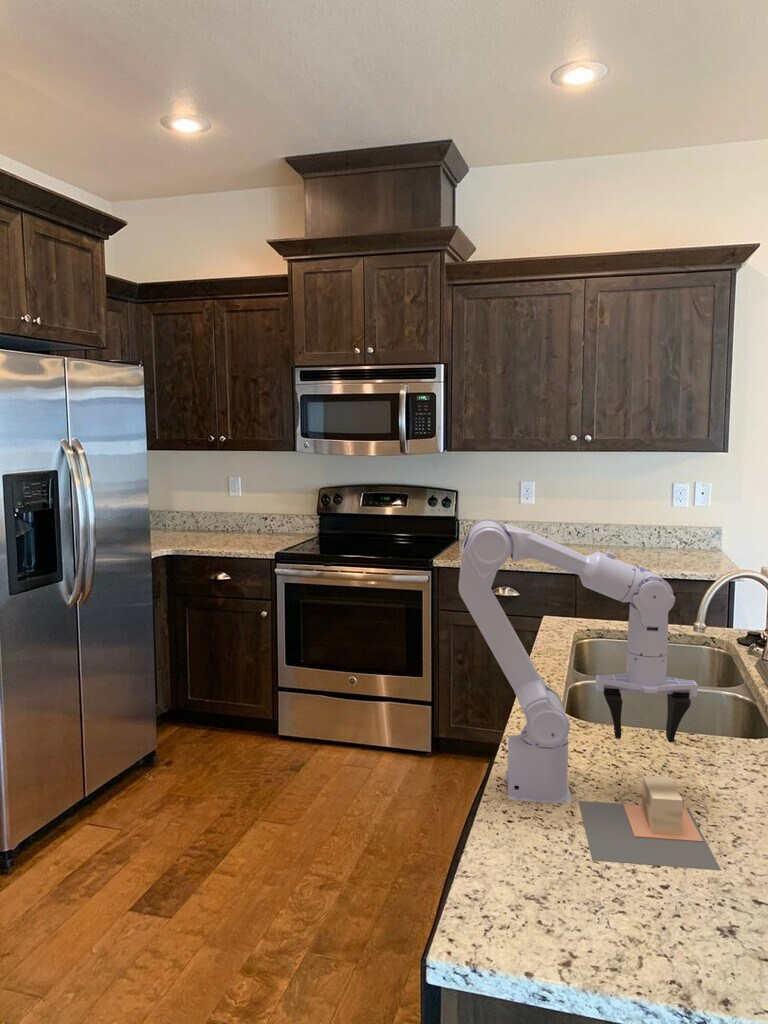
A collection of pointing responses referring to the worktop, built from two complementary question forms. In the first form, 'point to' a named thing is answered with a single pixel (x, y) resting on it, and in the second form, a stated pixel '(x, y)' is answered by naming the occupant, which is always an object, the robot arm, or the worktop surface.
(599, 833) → the rubber mat
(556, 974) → the worktop surface
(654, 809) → the birch block
